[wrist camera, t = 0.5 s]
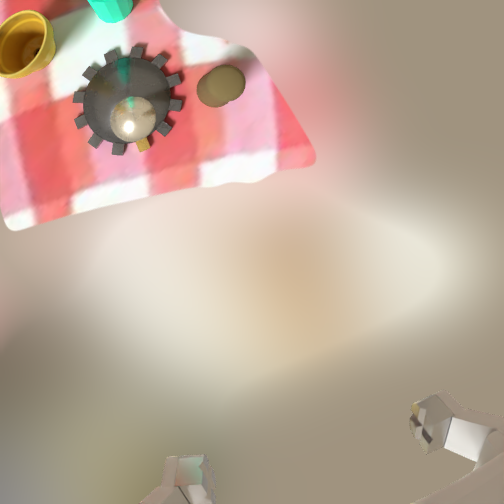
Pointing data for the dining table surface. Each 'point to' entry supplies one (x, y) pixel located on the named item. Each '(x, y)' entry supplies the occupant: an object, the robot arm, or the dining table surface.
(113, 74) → the sprocket plate
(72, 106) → the dining table surface
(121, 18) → the candle
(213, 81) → the cork
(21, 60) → the plant pot
